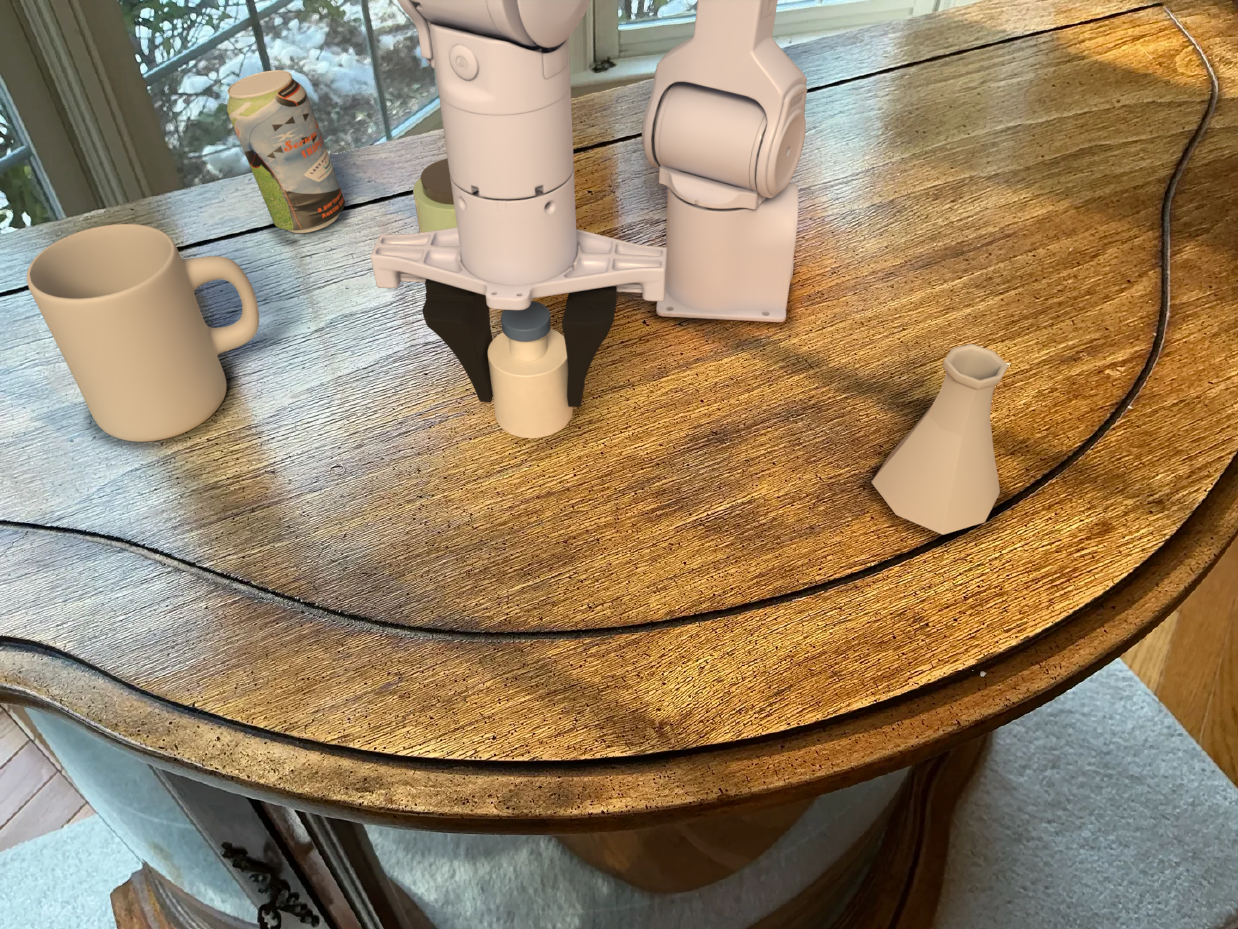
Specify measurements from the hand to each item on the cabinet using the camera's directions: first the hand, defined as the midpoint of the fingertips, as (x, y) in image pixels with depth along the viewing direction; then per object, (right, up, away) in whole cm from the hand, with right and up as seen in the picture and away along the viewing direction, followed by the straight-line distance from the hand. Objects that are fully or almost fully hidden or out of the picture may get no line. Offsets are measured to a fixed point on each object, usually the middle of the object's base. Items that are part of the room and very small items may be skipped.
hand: (531, 392), depth 55 cm
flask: (+24, -6, +5) cm, 25 cm away
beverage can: (-21, +16, +27) cm, 38 cm away
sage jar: (-8, +14, +25) cm, 30 cm away
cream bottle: (0, -1, +1) cm, 1 cm away
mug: (-24, +1, +12) cm, 27 cm away
